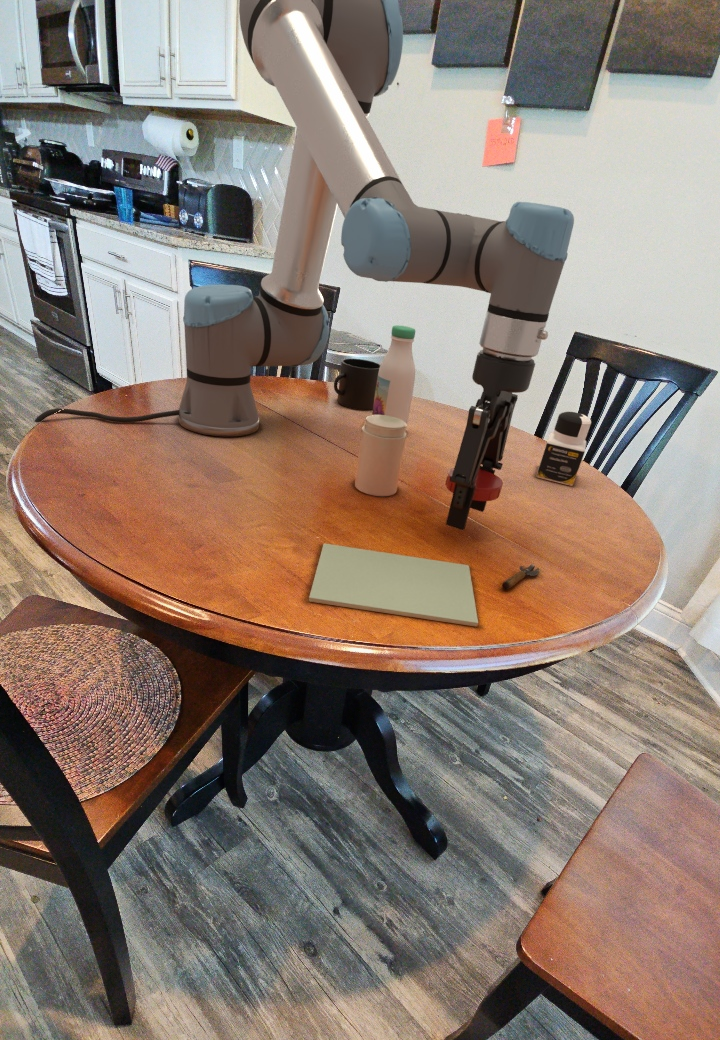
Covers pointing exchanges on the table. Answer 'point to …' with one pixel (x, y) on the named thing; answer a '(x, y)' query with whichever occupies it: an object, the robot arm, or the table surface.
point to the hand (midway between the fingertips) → (465, 517)
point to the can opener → (520, 576)
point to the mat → (394, 585)
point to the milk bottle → (396, 376)
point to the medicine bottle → (565, 449)
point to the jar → (380, 455)
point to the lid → (481, 485)
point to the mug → (357, 383)
